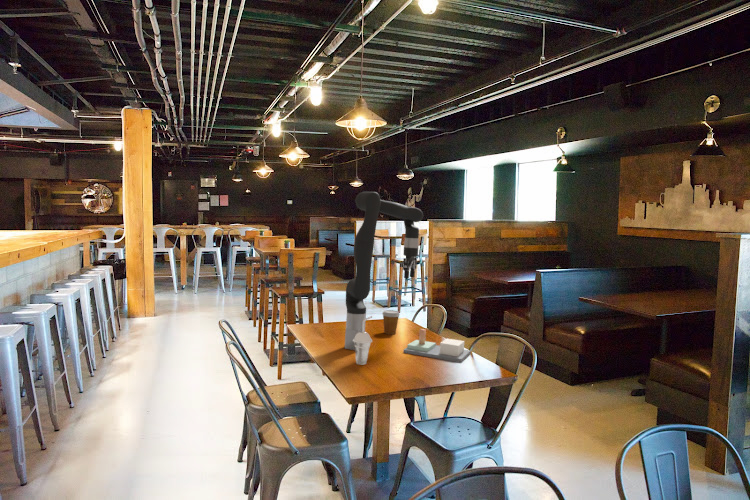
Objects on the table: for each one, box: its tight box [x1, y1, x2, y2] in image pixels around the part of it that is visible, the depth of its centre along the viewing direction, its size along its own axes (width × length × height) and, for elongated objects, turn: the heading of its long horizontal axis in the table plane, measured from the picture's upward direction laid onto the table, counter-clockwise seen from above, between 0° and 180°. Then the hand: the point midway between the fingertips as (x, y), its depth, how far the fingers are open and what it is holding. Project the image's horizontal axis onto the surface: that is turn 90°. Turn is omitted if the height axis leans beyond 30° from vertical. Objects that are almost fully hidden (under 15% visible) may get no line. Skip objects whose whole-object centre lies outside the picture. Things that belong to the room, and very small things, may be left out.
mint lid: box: [406, 328, 437, 352], centre depth 242 cm, size 12×10×9 cm
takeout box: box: [439, 338, 465, 356], centre depth 236 cm, size 11×9×5 cm
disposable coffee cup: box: [382, 309, 400, 335], centre depth 276 cm, size 10×10×12 cm
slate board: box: [402, 344, 472, 363], centre depth 239 cm, size 18×28×2 cm, turn 66°
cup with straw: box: [353, 315, 373, 366], centre depth 215 cm, size 8×9×20 cm
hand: (409, 277), depth 260 cm, fingers open, 8 cm apart
